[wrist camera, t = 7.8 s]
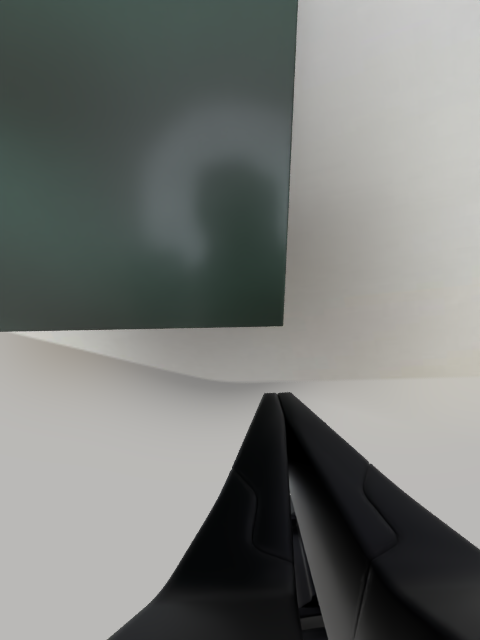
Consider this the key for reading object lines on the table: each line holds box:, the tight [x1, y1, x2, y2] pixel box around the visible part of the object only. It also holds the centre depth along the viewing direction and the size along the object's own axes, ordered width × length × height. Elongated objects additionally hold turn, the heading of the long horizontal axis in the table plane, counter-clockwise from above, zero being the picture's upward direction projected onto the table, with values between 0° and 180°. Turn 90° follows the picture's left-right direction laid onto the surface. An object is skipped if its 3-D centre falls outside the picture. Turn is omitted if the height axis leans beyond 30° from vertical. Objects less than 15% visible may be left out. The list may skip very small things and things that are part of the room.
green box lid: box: [0, 0, 298, 332], centre depth 9 cm, size 16×14×1 cm
